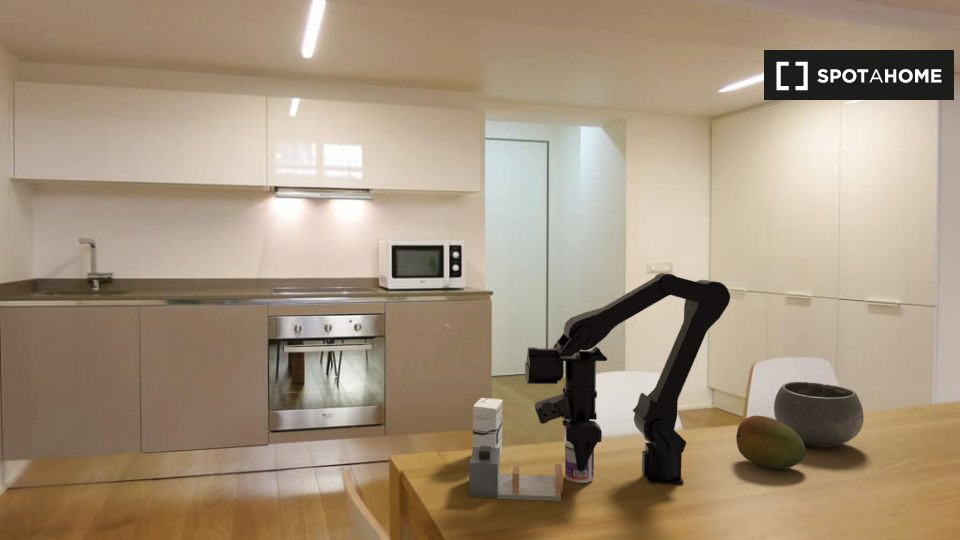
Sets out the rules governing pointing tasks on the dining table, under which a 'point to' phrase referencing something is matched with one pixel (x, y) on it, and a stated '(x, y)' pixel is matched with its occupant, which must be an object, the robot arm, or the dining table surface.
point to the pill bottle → (571, 466)
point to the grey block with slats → (509, 479)
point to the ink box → (487, 423)
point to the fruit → (769, 443)
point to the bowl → (819, 412)
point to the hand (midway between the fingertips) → (579, 465)
